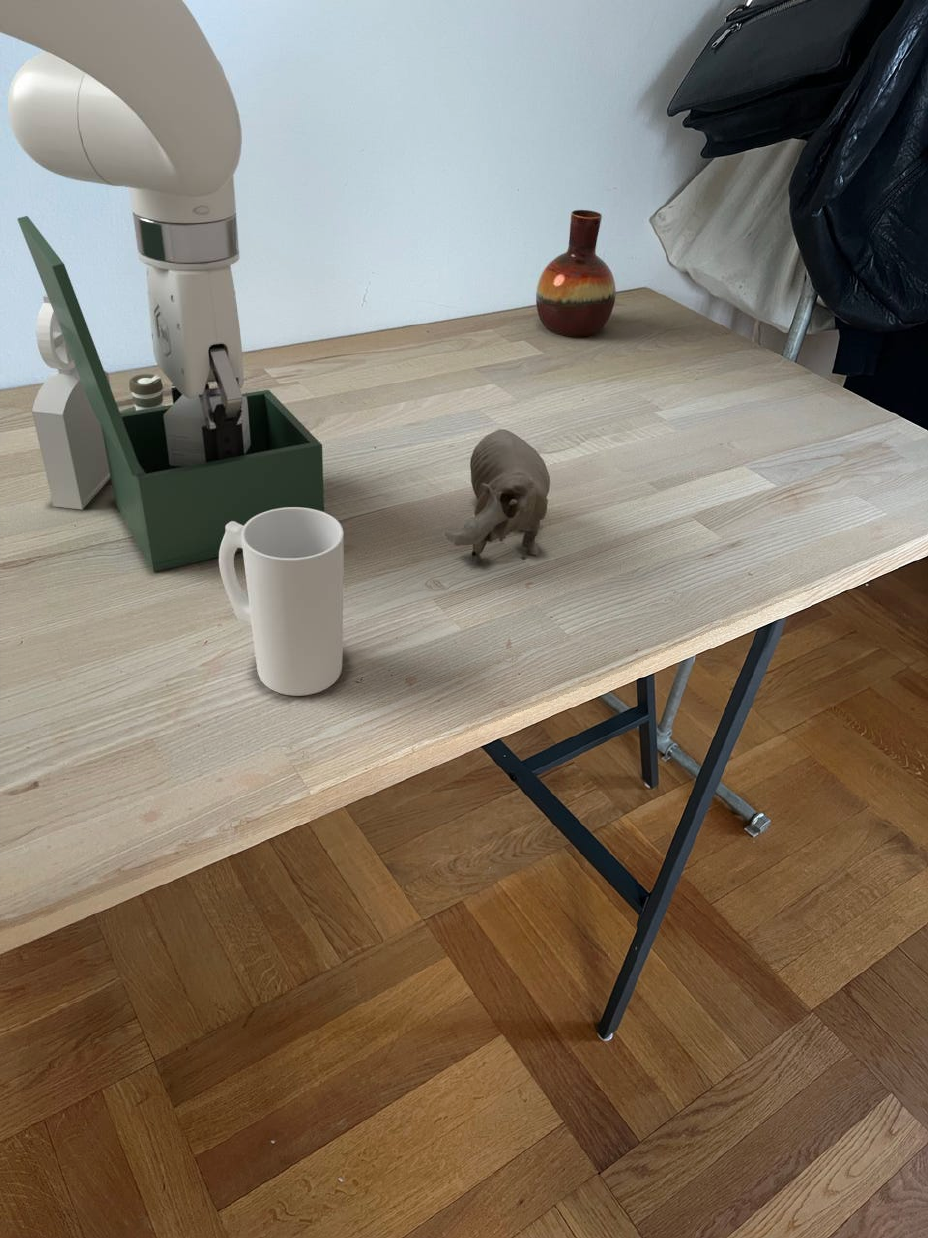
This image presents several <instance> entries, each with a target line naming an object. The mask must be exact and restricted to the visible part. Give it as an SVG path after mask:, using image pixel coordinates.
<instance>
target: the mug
mask: <svg viewBox="0 0 928 1238" xmlns="http://www.w3.org/2000/svg"><path fill="white" fill-rule="evenodd" d="M225 528H226V532H225V535H224V537H223V540H222V543H221V546H220V551H219V557H218V566H219V573H220V577H221V581H222V584H223V587H224V589H225V592H226V595H227V598H228V599H229V602H230V604H231V606H232V610H233V613H234V615H235V617H236V618H237V620H239V621H241V622H244V623H246V624H249V625H250V626H251V629H252V630H251V631H252V638H253V639H252V640H253V647H254V648H253V650H254V656H255V663H256V669H257V674H258V677H259V679H260V681H261V682H262V684H263V685H265V686H266V688H268V689H269V690H272V691H273V692H275V693H278V694H281V695H286V696H293V697H303V696H310V695H314V694H317V693H320V692H323V691H325V690H327V689H329V688H330V687H331V686H332V685H334V684H335V683H336V682H337V681H338V679H339V678H340V677H341V674H342V671H343V658H344V657H343V654H344V575H345V574H344V567H345V566H344V565H345V564H344V563H345V560H344V558H345V555H344V554H345V553H344V552H345V551H344V550H345V549H344V547H345V546H344V536H345V533H344V527H343V526H342V524H341V523H340V521H339V520H337V519H336V518H335V517H334V516H332V515H330V514H329V513H327V512H325V511H324V512H322V511H319V510H315V509H310V508H302V507H287V508H278V509H273V510H269V511H266V512H263V513H261V514H258V515H256V516H254V517H253V518H251V519H250V520H249V521H248V522H247V523H246V524H245V525H244V526H243V525H241V524H238V523H237V522H235V521H231V522H229V523H228V524H227V525H226V527H225ZM237 548H242V549H243V551H242V556H243V565H244V573H245V581H246V587H247V588H246V589H247V590H246V591H247V594H246V592H245V590H244V589H243V588H242V586H241V584H240V582H239V580H238V577H237V573H236V570H235V569H236V568H235V562H234V561H235V554H236V553H235V552H236V550H237Z"/></svg>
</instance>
